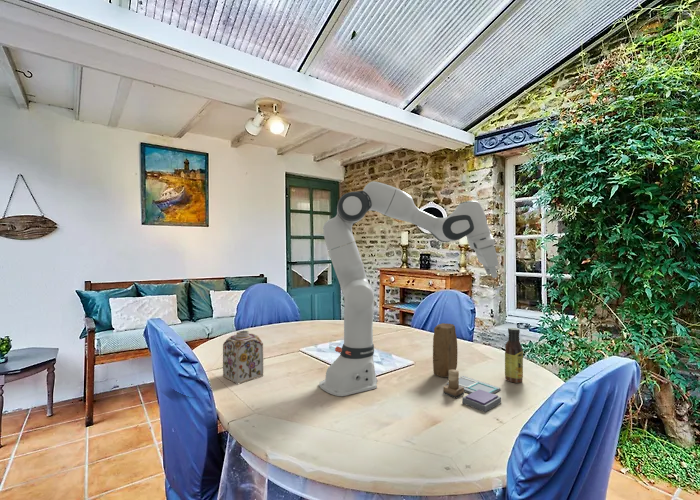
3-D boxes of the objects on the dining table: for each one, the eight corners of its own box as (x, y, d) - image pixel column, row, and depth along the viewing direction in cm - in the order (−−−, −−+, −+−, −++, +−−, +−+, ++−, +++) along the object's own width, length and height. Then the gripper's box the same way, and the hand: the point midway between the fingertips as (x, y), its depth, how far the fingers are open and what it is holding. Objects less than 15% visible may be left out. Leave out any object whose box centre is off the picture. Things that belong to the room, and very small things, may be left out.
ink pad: (485, 412, 107) (485, 404, 107) (462, 403, 113) (462, 396, 113) (501, 402, 114) (501, 395, 114) (478, 394, 120) (478, 388, 120)
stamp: (455, 398, 117) (455, 375, 117) (443, 393, 121) (443, 370, 121) (463, 394, 120) (463, 371, 120) (451, 389, 124) (451, 367, 124)
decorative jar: (222, 377, 137) (221, 331, 137) (248, 369, 145) (248, 326, 145) (237, 385, 129) (237, 337, 129) (264, 376, 137) (264, 331, 137)
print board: (484, 398, 117) (484, 395, 117) (446, 385, 128) (446, 382, 128) (500, 390, 124) (500, 387, 124) (463, 377, 135) (463, 375, 135)
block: (448, 380, 133) (448, 328, 133) (430, 375, 138) (430, 325, 138) (459, 372, 141) (459, 323, 141) (442, 367, 146) (442, 320, 146)
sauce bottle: (521, 385, 128) (522, 331, 128) (503, 381, 131) (503, 329, 131) (523, 379, 133) (523, 328, 133) (506, 376, 137) (506, 326, 137)
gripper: (468, 242, 143) (478, 274, 143) (477, 245, 123) (489, 282, 123) (483, 237, 141) (494, 269, 142) (495, 239, 121) (507, 276, 122)
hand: (492, 275), depth 132 cm, fingers open, 8 cm apart
